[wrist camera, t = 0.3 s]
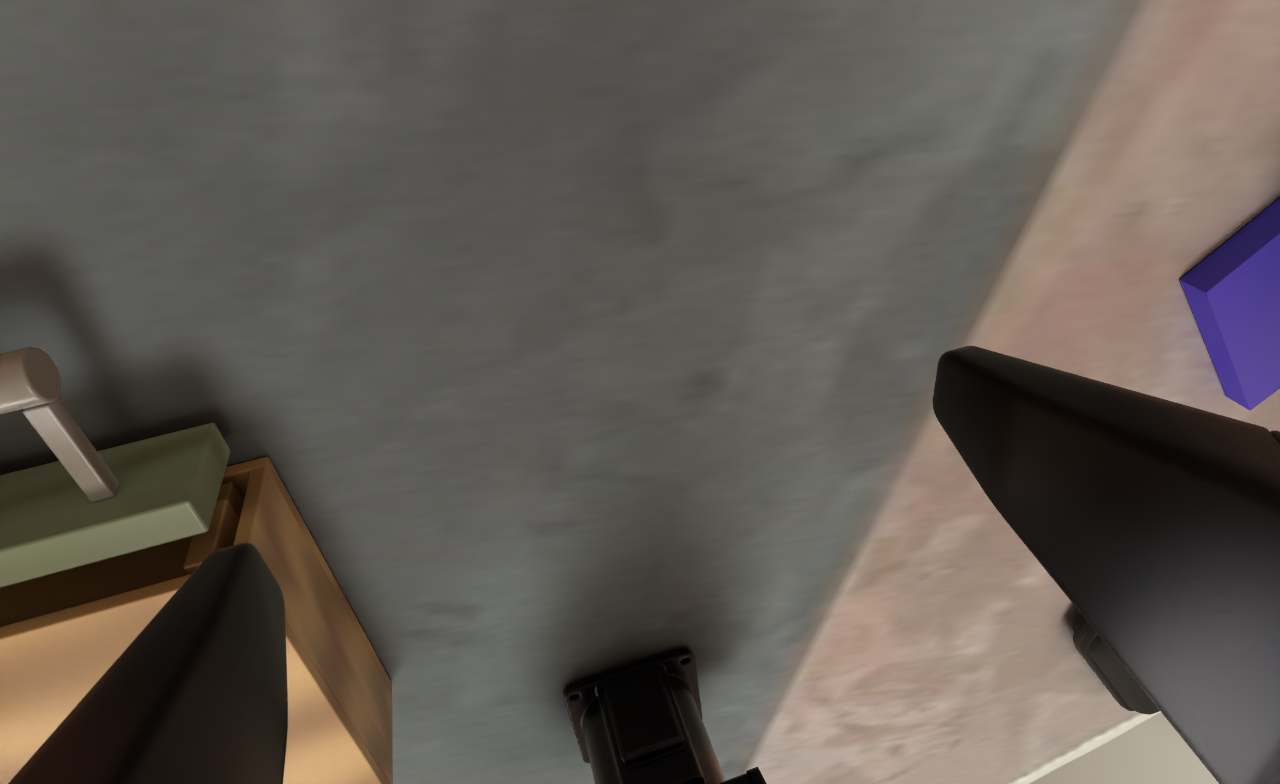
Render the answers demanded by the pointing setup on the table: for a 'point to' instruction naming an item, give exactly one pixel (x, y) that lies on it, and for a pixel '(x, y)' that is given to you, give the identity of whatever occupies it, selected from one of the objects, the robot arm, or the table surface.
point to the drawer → (102, 504)
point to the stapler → (1242, 308)
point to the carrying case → (1110, 669)
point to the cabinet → (315, 648)
